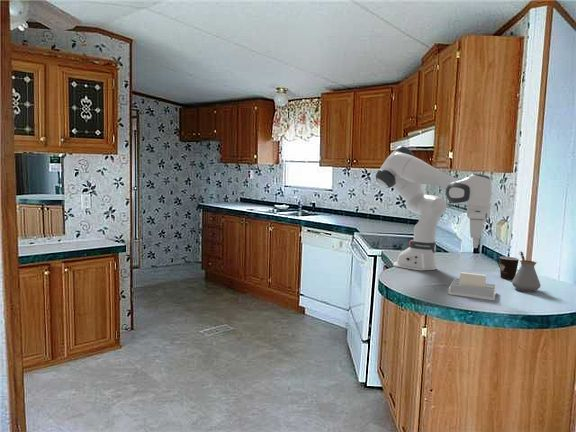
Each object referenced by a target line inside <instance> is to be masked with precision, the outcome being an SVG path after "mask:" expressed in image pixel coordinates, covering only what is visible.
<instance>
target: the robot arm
mask: <svg viewBox="0 0 576 432" xmlns="http://www.w3.org/2000/svg"><path fill="white" fill-rule="evenodd" d="M375 180H376V181H377V183H378V184H379V185H380V186H382V187H384V188H387V189H391V188H393V190H394V191H396V192H397V193H398V194H399V196H401V197H402V198H403V199H404V200H405V202H406V203H407V209H409V210H410V211H411V212H413V213H414V214H416V215H420V216H419V219H418V221H417V223H415V225H414V228H413V239H411V240H409V243H408V244H409V245H408V247H407V248H406V249H404V250H402V251H401V252H400V253H399V254H398V256H397V261H394V262H392V266H393V267H395V268H402V269H403V268H404V269H407V270H415V271H433V270H436V269H437V265H436V254H435V253H436V250H437V244H436V243H437V242H436V232H437V226H438V224H439V220H440V218H441V217H442V216H443V215H444V214H445V213H446V211H447V207H448V206H447V201H446V200H445V199H444V198H443V197H440V196H439V195H434V194H427V193H425V192H424V191H423V190H422V188H421V186H422V185H431V186H432V185H433V186H438V187H439V188H443V189H445V197H446V199H447V200H448V201H449V202H450V203H452V204H454V205H455V204H456V205H459V204H467V206H466V217H467V218H468V219H469V233H470V235H469V236H470V238H472V248H473V249H477V248H478V246H479V245H480V238H481V236H482V234H483V231H484V223H486V222H487V219H490V216H491V199H492V198H491V197H492V192H493V191H492V180H491V177H490V176H489V175H485V174H481V173H472V174H470V175H469V176H467V177H465V178H463V179H460V178H457V177H455V176H453V175H450V174H448V173H445V172H443V171H442V170H440V169H437V168H436V167H434V166H432V165H430V164H429V163H427V162H426V161H424V160H423V159H420V158H418V157H416V156H414V153H413V151H412V150H410V148H408V147H406V146H403V145H399V146H397V147H396V148H395V149H394V150H393V151H392V152H391V154H389V155H388V157H387V158H386V159H385V161H384V162H383V164H382V165H381V166H380V168H379V170H377V172H376V173H375Z"/></svg>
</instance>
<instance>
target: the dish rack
mask: <svg viewBox="0 0 576 432" xmlns="http://www.w3.org/2000/svg"><path fill="white" fill-rule="evenodd" d="M459 283H460V279H455V278H453V279H452V281H451V283H450V285H449V287H448V292H447V295H451V296H452V295H453V296H460V297H461V296H462V297H468V298H476V299H481V300H488V301H495V300H496V294H497V287H496V284H495V283H490V282H489V283H487V282H486V284H485V288H477V287H469V286H462V285H459Z"/></svg>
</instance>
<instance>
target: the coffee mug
mask: <svg viewBox="0 0 576 432" xmlns="http://www.w3.org/2000/svg"><path fill="white" fill-rule="evenodd" d="M496 262H497V265H498V267H499V273H500V276H499V277H500V279H504V280H511V281H513V279H514V277H515V275H516V274H517V272H518V265H519V262H520V259H519V258H517V257H512V256H499V258H498V259H497V261H496Z"/></svg>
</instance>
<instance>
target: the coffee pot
mask: <svg viewBox="0 0 576 432" xmlns="http://www.w3.org/2000/svg"><path fill="white" fill-rule="evenodd" d="M518 255H519V256H520V258H521V260H519V262H520V267H519V269H517V271H516V275H515V277H514V279H513V280H511V283H512V286H513V287H514V288H515V290H517V291H521V292H525V293H526V292H527V293H535V292H536V291H537V290H539V289H541V286H542V285H541V283H540V280H539V277H538V274H537V271H536V268H535V266H536V264H537V261H533V260H527V259H525V255H524V252H522V251H521V250H520V251H519V252H518Z"/></svg>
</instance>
